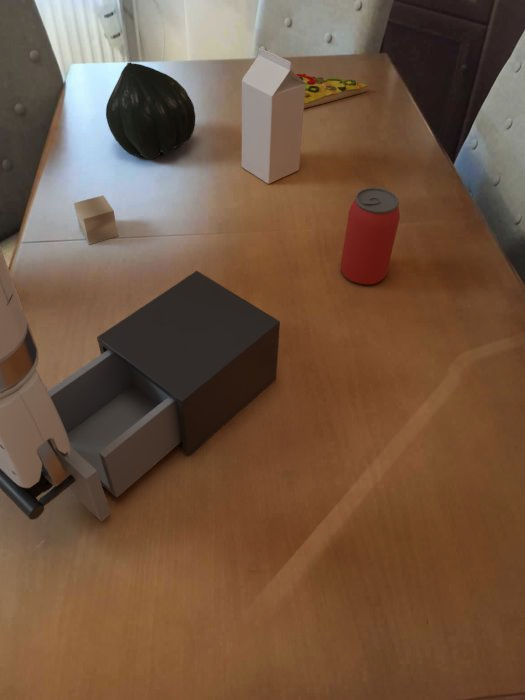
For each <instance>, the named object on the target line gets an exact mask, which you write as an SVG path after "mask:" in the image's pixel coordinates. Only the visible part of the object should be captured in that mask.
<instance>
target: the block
mask: <svg viewBox="0 0 525 700" xmlns="http://www.w3.org/2000/svg"><path fill="white" fill-rule="evenodd" d="M73 206H74V211H75V215H76V219H77V224H78V228H79V229H80V232H81V233H82V235H83V236H84V238H85V240H86V242H87V244H89V245H93V244H96V243H98V242H99V243H100V242H103V241H106V240H107V241H108V240H110V239H113V238H117V237H119V233H118V231H119V230H118V226H117V221H116V215H115V210H114V209H113V208H112V206H111V204H110V203H109V201H108V199H106V197H105V196H104V195H98V196H95V197H91V198H88V199H84V200H80V201H76V202H73Z"/></svg>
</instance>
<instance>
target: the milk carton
mask: <svg viewBox="0 0 525 700" xmlns="http://www.w3.org/2000/svg"><path fill="white" fill-rule="evenodd" d="M292 69H293V64H292V61H290V60H287V59H285V58H284V57H281V56H279V55H277V54H274V53H272V52H271V51H268V50H266V49H264V48H262V47H259V48H258V55H257V56H256V58H255V60H254V61H253V62H252V64H251V65H250V67H249V68H248V70H247V71H246V73H245V74H244V76H243V78H242V79H241V168H242V169H244V170H246V171H247V172H249V173H250V174H252V175H253V176H255V177H257V178H258V179H260V180H261V181H263V182H264V183H266V184H268V185H269V184H272V183H274V182H276V181H279V180H280V179H283V178H285V177H287V176H290V175H292V174H293V173H296V172H298V171H299V170H300V161H301V150H302V149H301V148H302V136H303V123H304V110H305V108H304V100H305V87H306V84H305V83H304V82H303V81H302V80H301V79H300V78H299V77H298V76H297V75H296V74H297V73H295V72H294V71H293V70H292Z"/></svg>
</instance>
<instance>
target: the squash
mask: <svg viewBox="0 0 525 700" xmlns="http://www.w3.org/2000/svg"><path fill="white" fill-rule="evenodd" d="M105 118H106V123H107V125H108V129H109V131H110V133H111V135H112V136H113V138H114V140H115V141H116V142H117V143H118V145H119V146H120V147H121V148H122V149H123V150H124V151H125V153H126V152H127V154H129V155H132V156H136V157H138V156H143V158H145V159H149V160H153V159H156V158H157V157H159V156H160V154H161V153H163V154H171V153H173V152H174V150H175V148H177V147H180V146H181V145H184V144H186V143H187V142H188V141H189V140H190V139H191V137H192V136H193V133H194V131H195V126H196V112H195V106H194V103H193V101H192V99H191V97H190V95H189V94H188V92H187V90H186V88H184V87H183V85H181V83H179V81H177V80H176V79H175V78H173V77H172V76H170V75H168V74H166V73H164V72H162V71H159V70H157V69H155V68H153V67H151V66H146V65H144V64H140V63H134V62H133V63H132V62H127V63H126V65H125V66H124V67H123V69H122V71H121V73H120V75H119V77H118V80H117V81H116V83H115V86H114V87H113V90H112V91H111V94H110V96H109V98H108V100H107V103H106V106H105Z"/></svg>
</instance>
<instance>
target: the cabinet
mask: <svg viewBox="0 0 525 700" xmlns="http://www.w3.org/2000/svg"><path fill="white" fill-rule="evenodd" d="M280 326H281V321H280V320H279V319H277V318H275V317H274V316H272V315H270V314H269V313H267V312H265V311H264V310H262V309H260V308H259V307H257V306H256V305H254V304H252V303H251V302H249V301H247V300H245V298H243V297H241V296H239V295H237V294H236V293H234V292H232V291H231V290H230V289H228V288H226V287H224V286H223V285H221V284H219V283H218V282H216V281H215V280H213V279H211V278H210V277H208V276H206V275H205V274H203V273H202V272H200V271H198V270H196V271H194V272H192V273H191V274H189V275H187V276H186V277H185V278H183V279H182V280H181V281H179V282H177V283H176V284H175V285H173V286H171V287H170V288H169V289H167V290H166V291H164V292H162V293H161V294H160V295H158V296H157V297H155V298H153V299H152V300H150V301H149V302H147V303H146V304H144V305H143V306H141V307H140V308H138V309H137V310H136V311H134V312H132V313H131V314H129V315H128V316H126V317H125V318H123V319H122V320H120V321H119V322H118V323H116V324H114V325H113V326H111V327H110V328H109V329H106V330H105V331H103V332H102V333H100V334H99V335H98V336H97V337H96V341H97V344H98V348H99V351H100V355H101V354H103V353H104V352H106V351H107V350H109V351H110V352H111V353H113V354H114V355H115V356H117V357H118V358H119V359H121V360H122V361H123V362H125V363H126V364H127V365H129V366H130V367H131V368H133V369H134V370H135V371H137V372H138V373H139V374H141V375H142V376H143V377H144V378H146V379H147V380H148V381H150V382H151V383H152V384H154V385H155V386H156V387H158V388H159V389H160V390H162V391H163V392H164V393H166V394H167V395H168V396H170V397H171V398H172V399H174V400H175V401H176V402H177V405H178V413H179V421H180V429H181V438H182V442H180V443H179V444H178V445H177V446H176V447H175V448H176V449H178V450H179V451H180V452H181V453H182V454H184V455H185V456H186V457H188V458H189V457H190V456H191V455H193V454H194V453H195V452H196V451H197V450H199V448H201V447H202V446H203V445H204V444H205V443H206V442H207V441H208V440H209V439H210V438H211V437H213V436H214V435H215V434H216V433H217V432H218V431H220V429H222V428H223V427H224V426H225V425H226V424H228V423H229V422H230V421H231V419H233V418H234V417H235V416H236V415H237V414H239V413H240V412H241V411H242V410H243V409H245V408H246V406H247V405H248V404H250V403H251V402H252V401H253V400H255V398H257V397H258V396H259V395H260V394H261V393H262V392H263V391H264V390H265V389H267V388H268V387H269V386H270V385H271V384H272V383H274V382H275V380H277V372H278V371H277V369H278V358H279V357H278V356H279V355H278V354H279V343H280V342H279V341H280V328H281V327H280Z"/></svg>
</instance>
